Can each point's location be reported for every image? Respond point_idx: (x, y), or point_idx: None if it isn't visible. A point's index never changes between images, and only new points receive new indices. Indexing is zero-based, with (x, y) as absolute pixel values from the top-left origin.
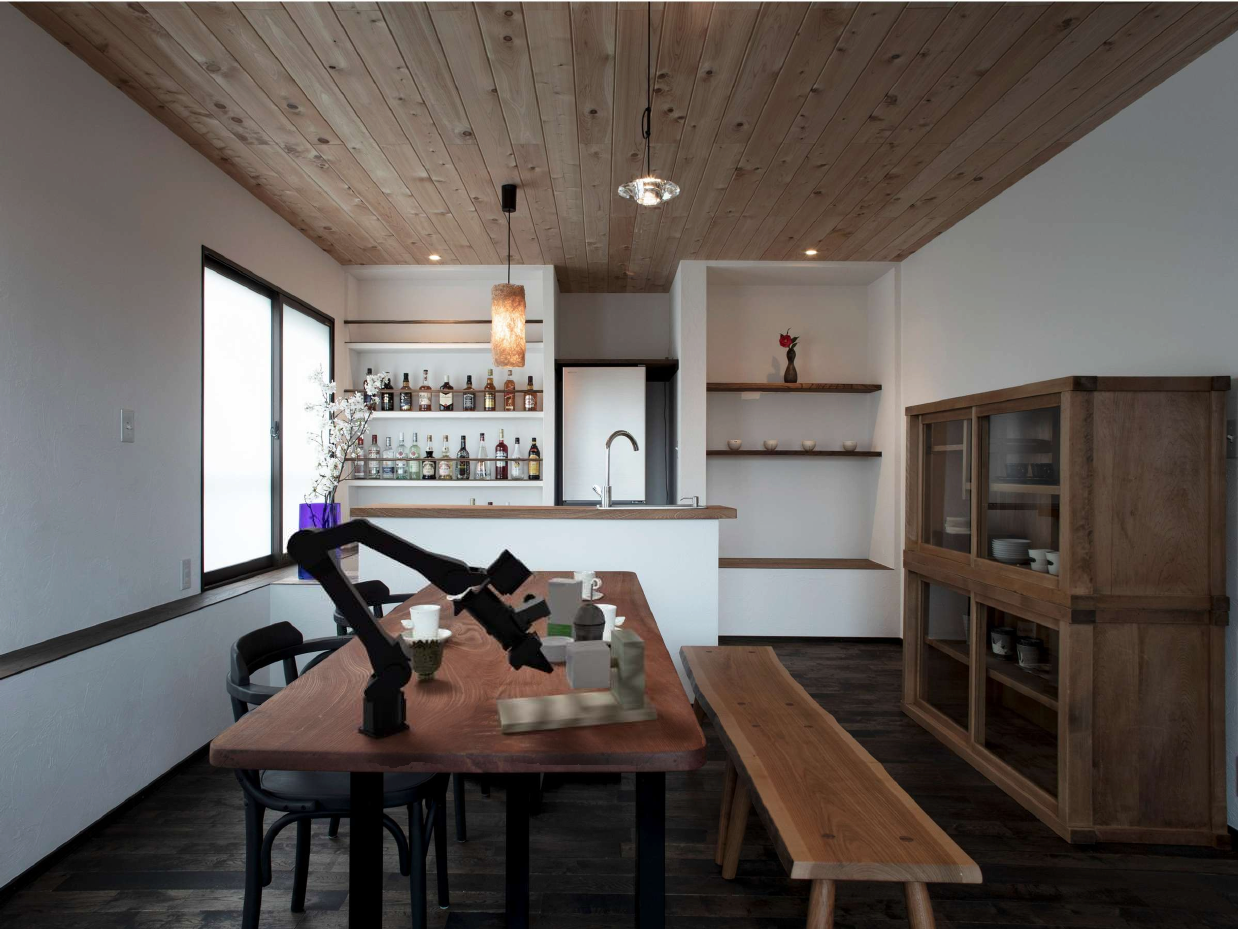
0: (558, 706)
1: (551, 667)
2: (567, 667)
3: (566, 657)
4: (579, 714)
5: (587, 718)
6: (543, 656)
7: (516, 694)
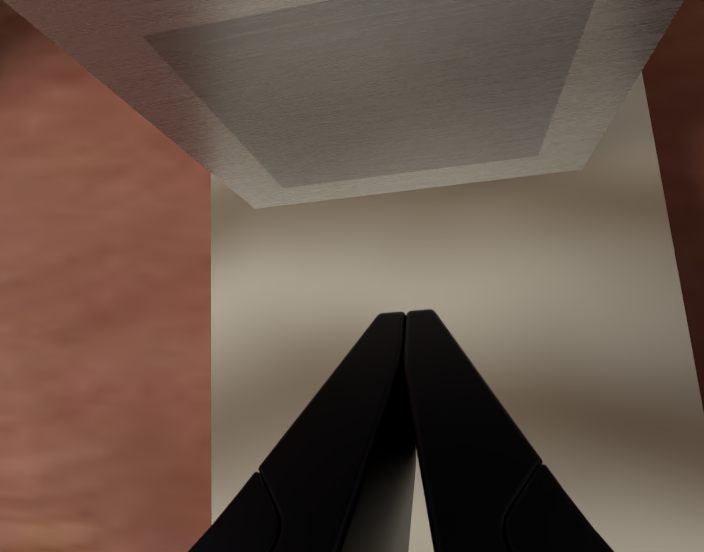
0: (421, 307)
1: (454, 338)
2: (270, 156)
3: (157, 124)
4: (597, 183)
5: (651, 140)
6: (565, 506)
7: (32, 542)
